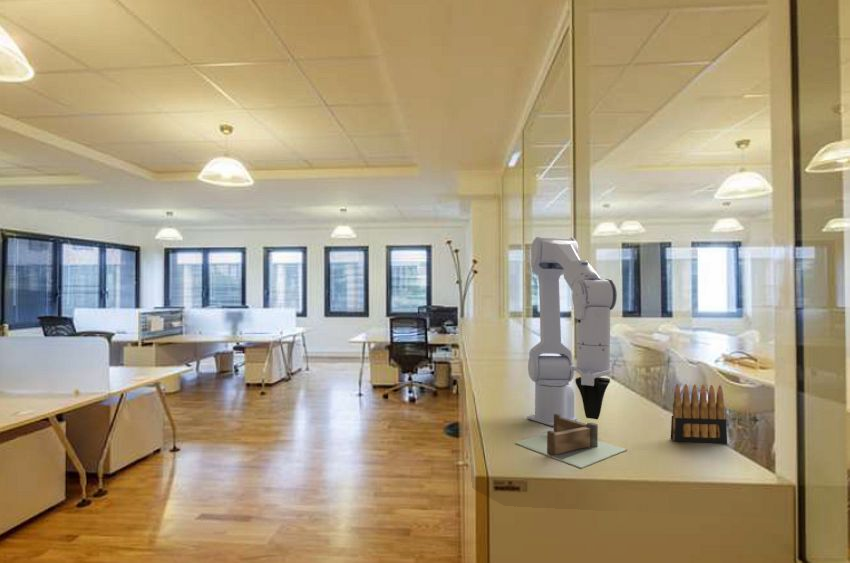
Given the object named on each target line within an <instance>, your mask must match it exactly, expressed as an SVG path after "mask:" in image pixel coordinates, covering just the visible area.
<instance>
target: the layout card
mask: <svg viewBox="0 0 850 563" xmlns="http://www.w3.org/2000/svg"><path fill="white" fill-rule="evenodd" d="M514 444H515V445H518V446H520V447H523V448H526V449H527V450H528V449H529V450H531V451H533V452H537V453H539V454H541V455H544V456H547V457H549V458H553V459H555V460H557V461H560V462H562V463H566V464H569V465H570V466H573V467H576V468H579V469H584V468H587V467H589V466H592V465H594V464H596V463H599V462H601V461H604V460H607V459H608V458H612V457H613V456H617V455H619V454H621V453H624V452H627V450H628V449H626V448H623V447H620V446H617V445H614V444H610V443H608V442H604V441H601V440H598V447H596V448H592V447H585V448H581V449H576V450H572V451H568V452H563V453H559V454H555V455H549V454H547V433H542V434H540V435H537V436H533V437H529V438H526V439H523V440H519V441H515V443H514Z"/></svg>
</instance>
